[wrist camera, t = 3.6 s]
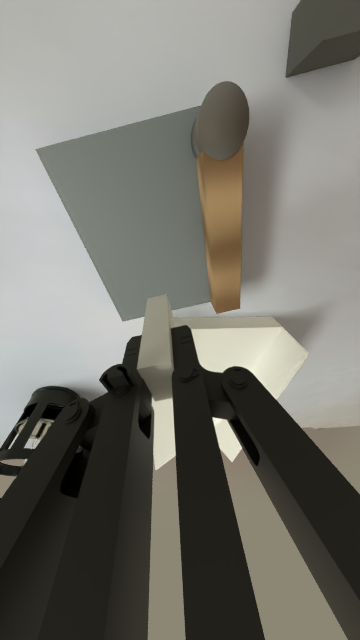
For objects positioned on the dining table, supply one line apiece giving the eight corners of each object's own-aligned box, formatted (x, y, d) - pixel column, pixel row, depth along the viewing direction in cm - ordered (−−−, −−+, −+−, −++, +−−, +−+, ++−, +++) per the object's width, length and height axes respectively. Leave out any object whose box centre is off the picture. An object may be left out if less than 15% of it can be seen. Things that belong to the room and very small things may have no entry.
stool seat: (51, 156, 16) (35, 149, 14) (218, 112, 15) (227, 98, 13) (125, 312, 26) (122, 321, 24) (225, 289, 26) (231, 296, 24)
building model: (222, 426, 56) (232, 462, 48) (156, 432, 53) (155, 471, 46) (270, 315, 30) (309, 354, 22) (147, 317, 28) (143, 361, 20)
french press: (24, 383, 33) (-149, 617, 14) (76, 384, 35) (-20, 594, 16) (42, 413, 40) (-62, 600, 21) (84, 412, 41) (23, 584, 23)
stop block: (292, 12, 13) (339, -55, 9) (372, -10, 12) (448, -86, 9) (285, 77, 14) (322, 40, 11) (355, 58, 14) (414, 15, 11)
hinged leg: (187, 112, 13) (194, 89, 10) (232, 100, 13) (250, 74, 10) (208, 302, 23) (214, 315, 21) (233, 297, 23) (242, 308, 21)
